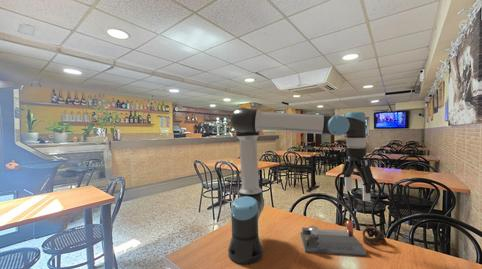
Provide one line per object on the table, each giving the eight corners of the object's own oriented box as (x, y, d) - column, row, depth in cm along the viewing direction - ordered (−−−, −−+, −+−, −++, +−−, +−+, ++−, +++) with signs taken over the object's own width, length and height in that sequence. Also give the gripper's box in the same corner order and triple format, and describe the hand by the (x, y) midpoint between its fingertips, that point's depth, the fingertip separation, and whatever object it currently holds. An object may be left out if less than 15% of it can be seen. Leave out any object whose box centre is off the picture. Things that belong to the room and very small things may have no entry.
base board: (305, 252, 91) (304, 236, 91) (300, 236, 105) (300, 222, 105) (366, 256, 87) (366, 239, 87) (353, 238, 101) (353, 224, 101)
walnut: (306, 244, 94) (306, 238, 94) (305, 241, 96) (305, 235, 96) (312, 244, 93) (311, 238, 93) (310, 241, 96) (310, 235, 96)
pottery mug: (393, 249, 92) (387, 236, 91) (372, 257, 94) (365, 243, 92) (377, 230, 104) (372, 218, 102) (359, 237, 106) (353, 225, 104)
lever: (303, 240, 96) (303, 221, 96) (302, 235, 100) (301, 217, 100) (354, 243, 93) (354, 223, 92) (351, 238, 97) (350, 219, 97)
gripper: (385, 149, 78) (385, 205, 79) (348, 145, 103) (349, 187, 104) (365, 150, 78) (366, 206, 79) (334, 145, 103) (334, 187, 104)
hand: (356, 195), depth 91 cm, fingers open, 13 cm apart
